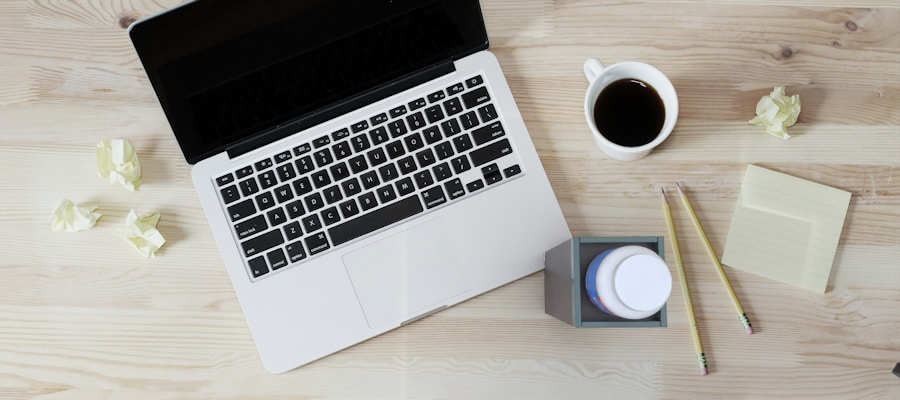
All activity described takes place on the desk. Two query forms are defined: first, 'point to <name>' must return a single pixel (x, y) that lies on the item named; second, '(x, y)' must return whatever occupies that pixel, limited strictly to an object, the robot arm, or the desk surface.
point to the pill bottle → (628, 282)
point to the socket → (576, 282)
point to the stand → (561, 283)
